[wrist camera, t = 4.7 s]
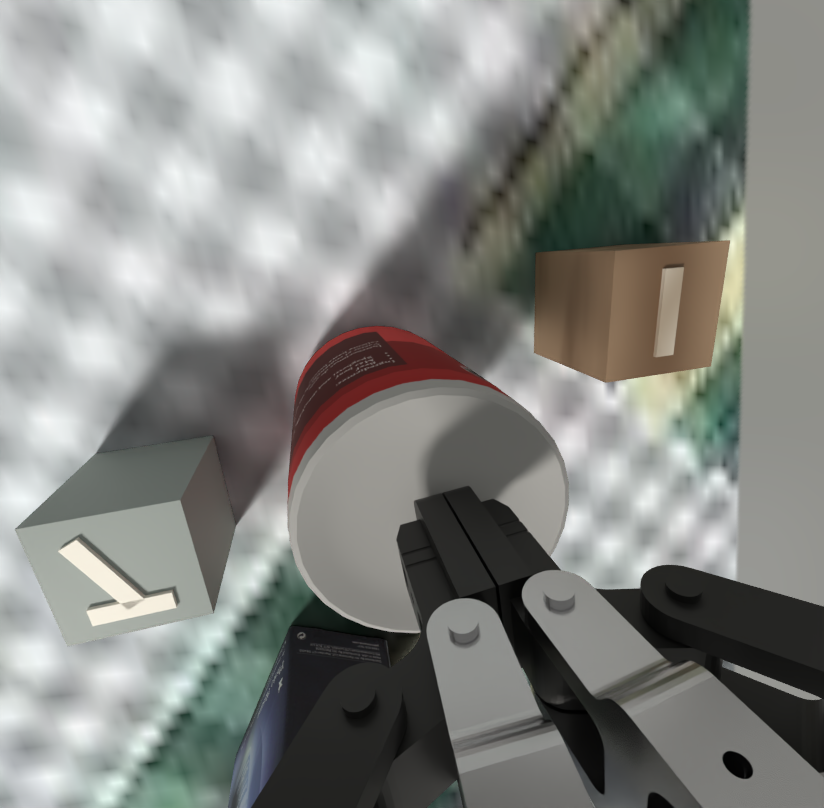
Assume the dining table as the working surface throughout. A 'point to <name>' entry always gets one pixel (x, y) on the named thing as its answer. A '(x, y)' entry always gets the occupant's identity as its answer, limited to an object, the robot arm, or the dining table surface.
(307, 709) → the small box
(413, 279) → the dining table surface
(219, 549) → the slate digit block
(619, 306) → the walnut digit block
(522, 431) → the canned food
